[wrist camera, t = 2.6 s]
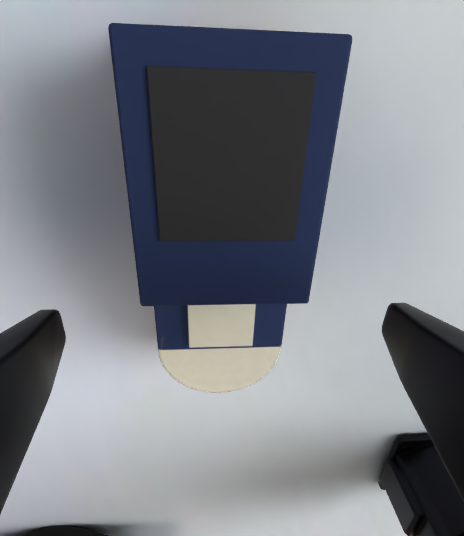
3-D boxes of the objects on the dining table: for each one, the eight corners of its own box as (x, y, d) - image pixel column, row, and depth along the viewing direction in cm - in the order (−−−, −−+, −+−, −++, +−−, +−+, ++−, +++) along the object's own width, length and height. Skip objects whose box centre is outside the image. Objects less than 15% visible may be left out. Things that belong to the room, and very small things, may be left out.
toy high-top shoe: (138, 32, 13) (88, -3, 7) (300, 40, 14) (372, 13, 8) (163, 340, 20) (148, 445, 14) (268, 338, 21) (293, 438, 15)
